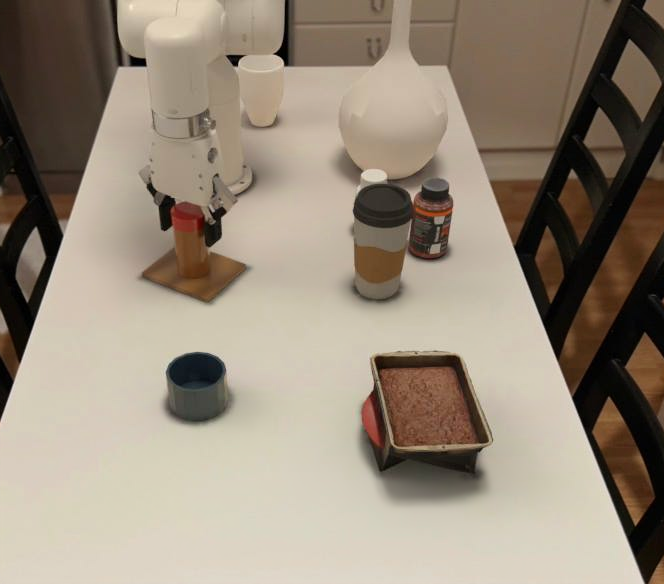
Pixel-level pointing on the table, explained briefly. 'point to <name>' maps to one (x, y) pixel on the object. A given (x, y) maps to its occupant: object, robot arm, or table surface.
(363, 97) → the vase
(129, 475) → the table surface
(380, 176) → the pill bottle
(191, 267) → the jar
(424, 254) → the supplement bottle
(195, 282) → the wooden board
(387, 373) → the baking dish
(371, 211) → the coffee cup
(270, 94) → the mug
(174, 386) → the cup
